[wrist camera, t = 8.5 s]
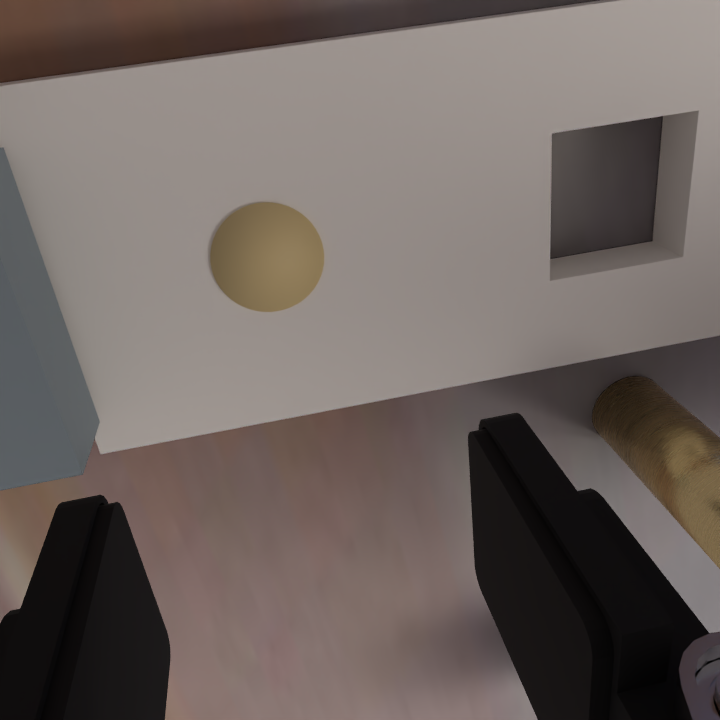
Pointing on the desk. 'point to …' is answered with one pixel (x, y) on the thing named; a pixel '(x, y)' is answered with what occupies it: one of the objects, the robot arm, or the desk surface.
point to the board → (363, 212)
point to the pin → (666, 454)
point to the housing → (36, 361)
